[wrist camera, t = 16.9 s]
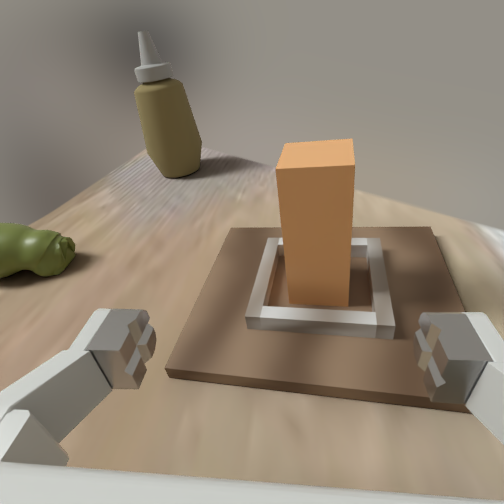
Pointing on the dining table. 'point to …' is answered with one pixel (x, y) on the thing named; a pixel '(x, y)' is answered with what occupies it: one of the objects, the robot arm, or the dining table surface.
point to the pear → (33, 250)
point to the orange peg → (317, 219)
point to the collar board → (318, 320)
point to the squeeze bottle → (165, 115)
